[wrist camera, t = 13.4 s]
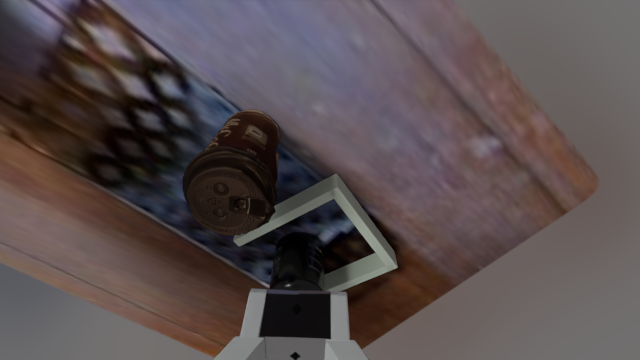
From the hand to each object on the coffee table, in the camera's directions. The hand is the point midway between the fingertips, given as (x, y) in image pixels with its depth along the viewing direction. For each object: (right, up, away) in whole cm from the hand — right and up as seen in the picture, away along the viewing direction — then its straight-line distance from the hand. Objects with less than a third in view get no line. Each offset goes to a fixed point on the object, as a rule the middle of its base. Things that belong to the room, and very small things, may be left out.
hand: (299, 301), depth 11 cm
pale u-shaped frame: (+1, -4, +38) cm, 38 cm away
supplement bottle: (-2, -6, +39) cm, 39 cm away
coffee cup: (-7, +9, +29) cm, 31 cm away
